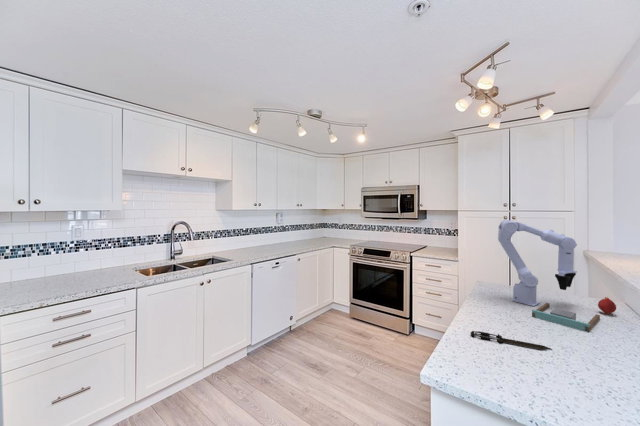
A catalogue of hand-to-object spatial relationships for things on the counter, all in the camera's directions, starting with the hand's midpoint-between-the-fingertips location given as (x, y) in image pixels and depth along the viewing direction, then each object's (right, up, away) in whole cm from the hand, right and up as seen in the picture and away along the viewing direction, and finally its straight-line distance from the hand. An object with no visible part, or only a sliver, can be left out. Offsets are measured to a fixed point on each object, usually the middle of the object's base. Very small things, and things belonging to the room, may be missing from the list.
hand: (565, 288), depth 135 cm
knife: (-51, -12, -33) cm, 62 cm away
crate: (-15, -10, -16) cm, 24 cm away
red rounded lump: (+11, -10, -9) cm, 17 cm away
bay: (-11, -10, -12) cm, 19 cm away
